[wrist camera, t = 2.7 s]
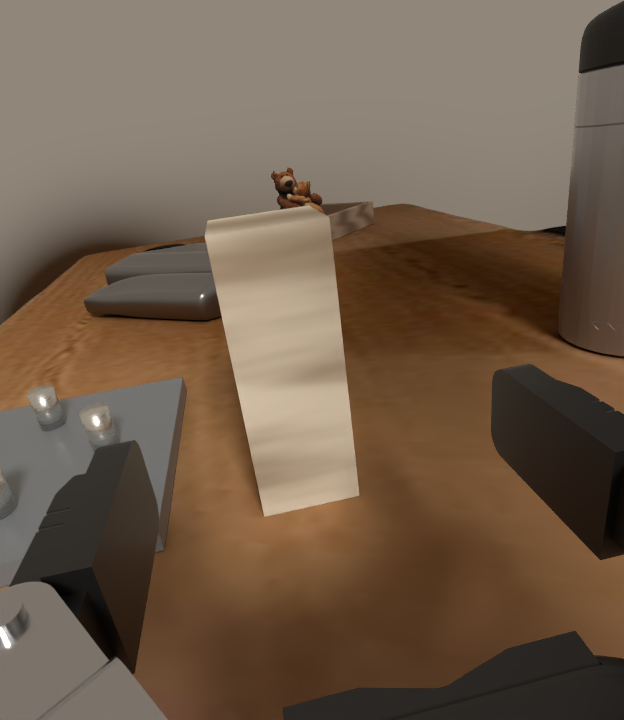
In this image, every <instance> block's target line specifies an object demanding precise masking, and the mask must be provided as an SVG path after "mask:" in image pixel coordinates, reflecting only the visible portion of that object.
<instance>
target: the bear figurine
mask: <svg viewBox="0 0 624 720" xmlns="http://www.w3.org/2000/svg"><path fill="white" fill-rule="evenodd" d="M271 177H272V179H273V180H274V183H275V188H276V190H277V191H278V193H279V196H278V198H277V202H278V204H279V205H280V206H281V208H280V210H282V209H289V208H295V207H302V206H308V205H309V206H311V207H312V208H314V209H316V210H318V211H319V212H321V213H323V214H325V213H324V211H323V210H322V208H321V207H320V205H321V204H322V198H321V197H320V195H318V194H314V193H313V194H311V195H310V181H309V180H308V181H307V183H306V182H304V181H303V182H299V183H298V184H297V183H296V180H295V178H294V177H293V170H292V169H291V168H288V169H287V172H281V173H280V174H278V175H277V173H275V172H274V171H273V173H272V174H271ZM296 184H297V185H296Z"/></svg>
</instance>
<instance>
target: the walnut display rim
mask: <svg viewBox="0 0 624 720" xmlns="http://www.w3.org/2000/svg"><path fill="white" fill-rule="evenodd" d="M320 207H321V208H322V210H323V211H324V213H325V215H326V216H328V217H329V219H330V228H331V237H332V241H333V240H335V239H337V238H340V237H342V236H345V235H347V234H349V233H352V232H354V231H357V230H359V229H361V228H364V227H366V226H369V225H371V224H373V223H374V214H373V202H355V203H336V204H321V205H320ZM279 210H280V209H279Z"/></svg>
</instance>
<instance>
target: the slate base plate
mask: <svg viewBox="0 0 624 720" xmlns="http://www.w3.org/2000/svg"><path fill="white" fill-rule="evenodd" d="M186 392H187V391H186V387H185V383H184V380H183V377H181V378H175V379H170V380H164V381H159V382H154V383H148V384H143V385H138V386H132V387H127V388H122V389H116V390H111V391H106V392H100V393H95V394H90V395H84V396H79V397H74V398H68V399H63V400H58V398H57V396H56V393H55V391H54V388H53V386H52V385H44V386H40V387H37V388H34V389H32V390H30V391H29V392H28V393H27V397H28V399H29V401H30V404H31V406H25V407H20V408H15V409H9V410H4V411H0V587H3V586H7V585H10V584H11V582H12V580H13V578H14V576H15V574H16V572H17V570H18V568H19V566H20V564H21V562H22V560H23V558H24V556H25V554H26V552H27V550H28V548H29V546H30V544H31V542H32V540H33V538H34V536H35V534H36V532H39V529H38V528H39V526H40V524H41V522H42V520H43V518H44V516H46V515H47V514H46V512H47V510H48V508H49V506H50V504H51V502H52V500H53V498H54V496H55V494H56V493H57V492H58V491H59V490H60V489H61V488H62V487H63V486H64V485H65V484H66V483H67V482H68V481H69V480H70V479H71V478H72V477H73V476H76V475H81V474H86V471H87V469H88V467H89V464H90V462H91V460H92V458H93V455H94V453H95V451H96V449H97V448H98V447H101V446H106V445H111V444H116V443H121V442H127V441H132V440H135V441H137V443H138V444H139V446H140V449H141V452H142V455H143V458H144V461H145V465H146V468H147V471H148V474H149V478H150V481H151V484H152V487H153V490H154V494H155V497H156V501H157V505H158V512H159V531H158V537H157V543H156V549H155V552H159V551H163V550H164V549H165V542H166V535H167V528H168V521H169V514H170V506H171V499H172V492H173V485H174V478H175V471H176V464H177V456H178V449H179V442H180V435H181V428H182V421H183V414H184V407H185V399H186Z"/></svg>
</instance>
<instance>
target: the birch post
mask: <svg viewBox="0 0 624 720" xmlns="http://www.w3.org/2000/svg"><path fill="white" fill-rule="evenodd" d="M205 240H206V244H207V249H208V254H209V258H210V263H211V268H212V273H213V277H214V282H215V287H216V291H217V296H218V301H219V306H220V310H221V315H222V320H223V324H224V329H225V334H226V339H227V343H228V348H229V353H230V357H231V362H232V367H233V371H234V376H235V381H236V386H237V390H238V395H239V400H240V404H241V409H242V414H243V419H244V423H245V428H246V433H247V437H248V442H249V447H250V451H251V456H252V461H253V466H254V470H255V475H256V480H257V484H258V489H259V494H260V499H261V503H262V508H263V513H264V517H266V516H271V515H275V514H280V513H284V512H289V511H293V510H298V509H302V508H307V507H311V506H316V505H320V504H325V503H329V502H334V501H339V500H343V499H348V498H352V497H357V496H359V487H358V478H357V468H356V459H355V450H354V441H353V431H352V422H351V413H350V404H349V394H348V385H347V376H346V367H345V357H344V348H343V339H342V330H341V320H340V311H339V302H338V293H337V283H336V274H335V265H334V256H333V247H332V237H331V228H330V219H329V217H328V216H326V215H325V214H323V213H321V212H319V211H318V210H316V209H314V208H312V207H311V206H309V205H308V206H302V207H295V208H289V209H282V210H275V211H269V212H262V213H256V214H249V215H243V216H236V217H230V218H223V219H216V220H210V221H208V222H207V227H206V233H205Z"/></svg>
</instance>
